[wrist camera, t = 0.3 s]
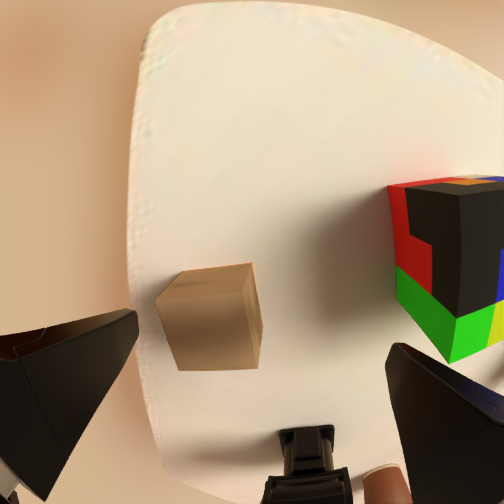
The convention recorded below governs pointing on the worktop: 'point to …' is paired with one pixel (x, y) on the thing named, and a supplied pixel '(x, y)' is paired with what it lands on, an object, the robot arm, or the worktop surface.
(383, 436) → the worktop surface
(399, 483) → the coffee cup
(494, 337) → the puzzle toy
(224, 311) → the walnut cube
